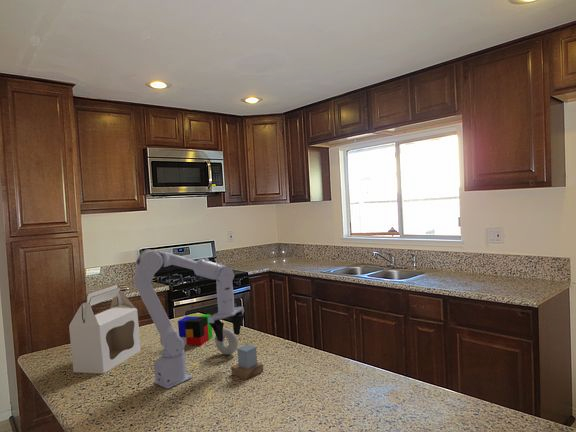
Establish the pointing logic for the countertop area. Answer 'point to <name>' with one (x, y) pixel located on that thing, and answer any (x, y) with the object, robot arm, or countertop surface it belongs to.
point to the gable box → (104, 332)
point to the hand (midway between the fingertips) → (228, 337)
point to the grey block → (247, 356)
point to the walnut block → (246, 371)
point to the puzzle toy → (195, 329)
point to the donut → (232, 342)
